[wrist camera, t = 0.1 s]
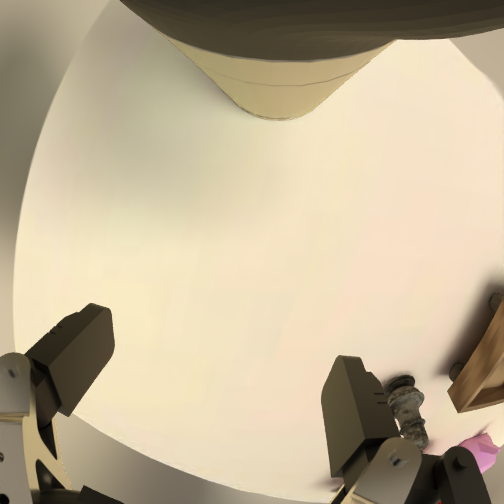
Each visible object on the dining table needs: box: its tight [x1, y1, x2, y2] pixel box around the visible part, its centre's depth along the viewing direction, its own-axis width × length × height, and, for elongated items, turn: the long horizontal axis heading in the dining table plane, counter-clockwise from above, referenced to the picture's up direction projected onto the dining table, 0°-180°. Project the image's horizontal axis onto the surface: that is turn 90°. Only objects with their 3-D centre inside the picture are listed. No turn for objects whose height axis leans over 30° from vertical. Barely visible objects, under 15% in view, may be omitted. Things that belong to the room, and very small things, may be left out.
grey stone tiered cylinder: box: [383, 375, 429, 454], centre depth 26 cm, size 6×6×12 cm
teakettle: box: [459, 433, 501, 474], centre depth 37 cm, size 17×17×12 cm
